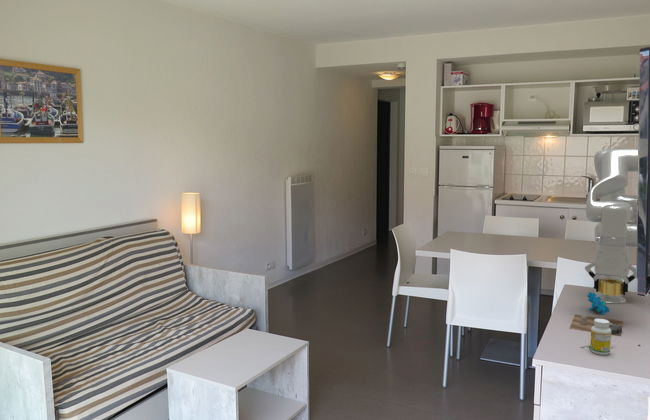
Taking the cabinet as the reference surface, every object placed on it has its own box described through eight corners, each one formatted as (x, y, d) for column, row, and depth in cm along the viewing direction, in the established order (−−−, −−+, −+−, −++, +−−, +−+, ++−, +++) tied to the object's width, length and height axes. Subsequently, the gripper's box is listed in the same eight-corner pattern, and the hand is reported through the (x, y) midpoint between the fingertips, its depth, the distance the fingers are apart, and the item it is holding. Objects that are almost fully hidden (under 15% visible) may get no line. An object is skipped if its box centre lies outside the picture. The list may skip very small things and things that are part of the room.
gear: (604, 315, 187) (586, 291, 192) (591, 324, 190) (573, 300, 195) (616, 313, 194) (598, 290, 199) (603, 321, 197) (586, 299, 202)
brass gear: (593, 289, 184) (594, 278, 183) (614, 289, 184) (615, 277, 183) (605, 296, 176) (606, 284, 176) (627, 295, 177) (628, 283, 176)
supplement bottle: (607, 356, 155) (609, 324, 154) (587, 352, 158) (589, 321, 157) (612, 351, 159) (613, 320, 158) (592, 347, 162) (594, 316, 161)
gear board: (574, 317, 190) (575, 304, 189) (623, 324, 182) (623, 310, 182) (569, 332, 176) (569, 318, 175) (621, 339, 168) (621, 325, 167)
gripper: (583, 241, 179) (581, 292, 181) (643, 245, 170) (640, 299, 173) (585, 237, 185) (583, 286, 188) (643, 241, 176) (640, 292, 179)
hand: (610, 292), depth 180 cm, fingers closed on brass gear, 7 cm apart
